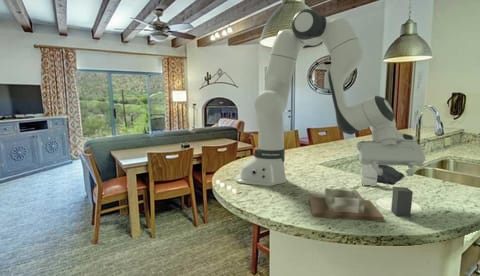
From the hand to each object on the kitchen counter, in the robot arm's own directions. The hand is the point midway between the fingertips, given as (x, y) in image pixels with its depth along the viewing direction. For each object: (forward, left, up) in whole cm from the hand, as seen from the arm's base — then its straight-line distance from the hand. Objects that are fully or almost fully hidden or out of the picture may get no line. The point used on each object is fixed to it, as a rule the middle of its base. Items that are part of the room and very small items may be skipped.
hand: (395, 174), depth 90 cm
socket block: (-17, -7, -11) cm, 21 cm away
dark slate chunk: (+8, +37, -11) cm, 40 cm away
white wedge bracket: (-1, +23, -11) cm, 25 cm away
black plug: (0, -7, -11) cm, 13 cm away
